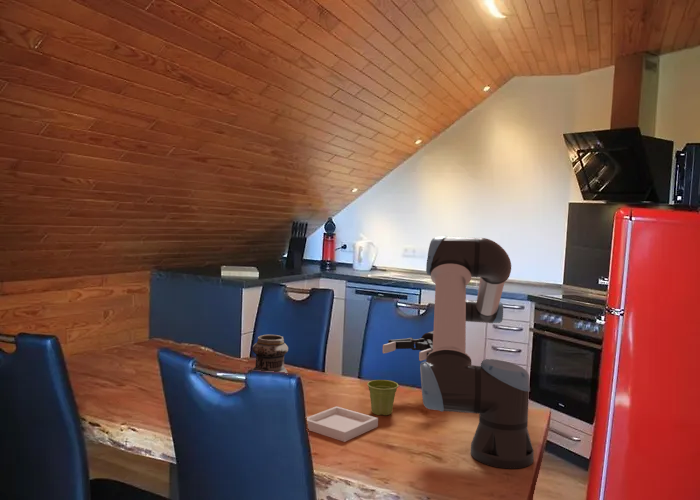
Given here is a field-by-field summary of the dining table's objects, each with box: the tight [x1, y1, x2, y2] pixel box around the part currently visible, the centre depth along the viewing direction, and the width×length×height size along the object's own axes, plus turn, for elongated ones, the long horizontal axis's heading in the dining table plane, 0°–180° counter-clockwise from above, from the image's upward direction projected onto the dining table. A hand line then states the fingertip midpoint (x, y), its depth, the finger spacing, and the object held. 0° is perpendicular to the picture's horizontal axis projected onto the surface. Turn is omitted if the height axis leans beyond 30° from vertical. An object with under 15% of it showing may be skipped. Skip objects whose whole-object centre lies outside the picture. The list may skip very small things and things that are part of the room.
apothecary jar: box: [252, 334, 289, 373], centre depth 194 cm, size 12×12×18 cm
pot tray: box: [306, 405, 379, 443], centre depth 161 cm, size 15×15×2 cm
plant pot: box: [366, 379, 399, 416], centre depth 175 cm, size 9×9×9 cm
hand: (401, 352), depth 182 cm, fingers open, 13 cm apart
